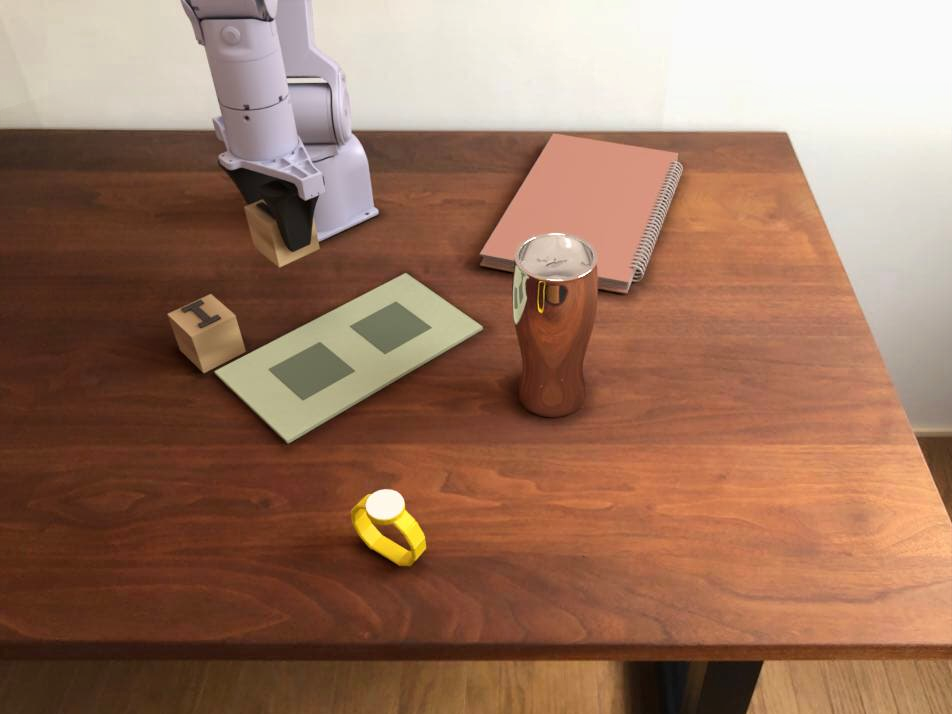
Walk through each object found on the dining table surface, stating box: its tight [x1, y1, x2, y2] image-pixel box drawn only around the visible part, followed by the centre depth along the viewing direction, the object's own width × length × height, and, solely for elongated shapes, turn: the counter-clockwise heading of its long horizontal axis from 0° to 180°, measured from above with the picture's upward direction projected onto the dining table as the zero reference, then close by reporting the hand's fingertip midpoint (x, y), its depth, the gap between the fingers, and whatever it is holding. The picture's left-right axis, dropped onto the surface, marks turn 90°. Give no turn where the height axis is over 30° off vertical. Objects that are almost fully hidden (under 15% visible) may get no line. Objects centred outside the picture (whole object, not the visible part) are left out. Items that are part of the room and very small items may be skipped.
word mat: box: [214, 272, 484, 444], centre depth 84 cm, size 22×12×1 cm, turn 134°
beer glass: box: [511, 232, 599, 418], centre depth 75 cm, size 7×7×15 cm
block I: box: [166, 293, 247, 374], centre depth 82 cm, size 4×4×5 cm
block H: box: [243, 199, 321, 268], centre depth 82 cm, size 4×4×5 cm
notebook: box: [479, 133, 684, 295], centre depth 101 cm, size 27×17×2 cm, turn 163°
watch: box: [350, 488, 427, 567], centre depth 66 cm, size 6×3×6 cm, turn 58°
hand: (284, 235), depth 83 cm, fingers closed on block H, 4 cm apart
